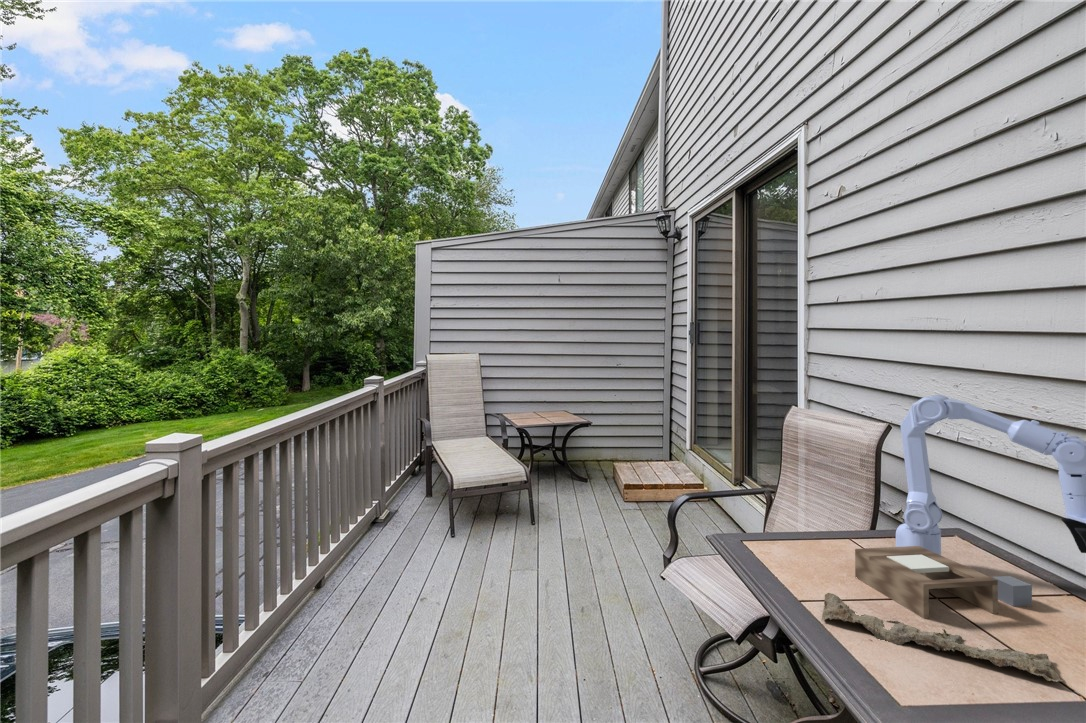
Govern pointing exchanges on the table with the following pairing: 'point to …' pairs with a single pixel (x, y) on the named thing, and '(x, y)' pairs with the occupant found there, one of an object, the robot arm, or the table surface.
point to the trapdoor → (920, 563)
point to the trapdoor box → (923, 579)
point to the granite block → (1014, 591)
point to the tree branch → (939, 640)
